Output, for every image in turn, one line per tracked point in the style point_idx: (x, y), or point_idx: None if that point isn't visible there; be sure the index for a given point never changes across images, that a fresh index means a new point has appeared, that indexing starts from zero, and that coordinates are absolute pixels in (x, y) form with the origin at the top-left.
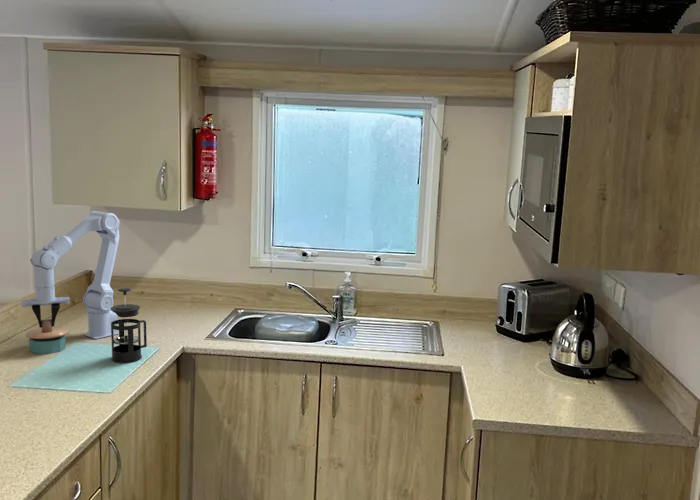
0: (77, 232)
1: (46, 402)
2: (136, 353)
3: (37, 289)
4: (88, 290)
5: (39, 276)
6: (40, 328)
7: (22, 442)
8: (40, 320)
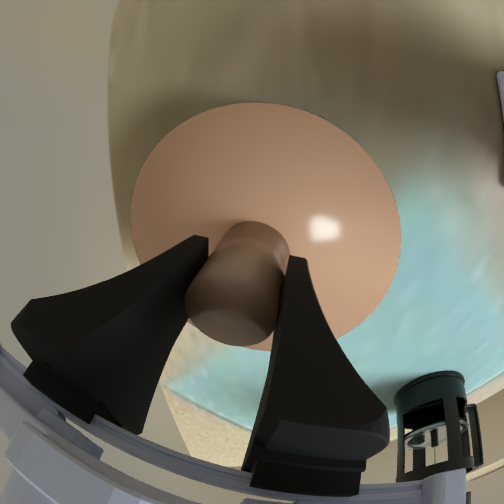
0: None
1: (221, 435)
2: (430, 420)
3: None
4: None
5: None
6: (226, 109)
7: (199, 451)
8: (177, 327)
